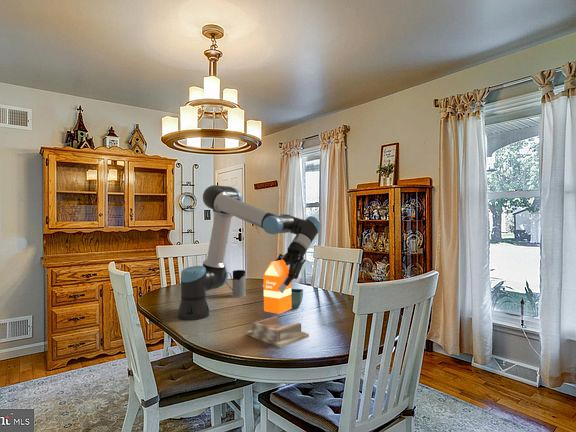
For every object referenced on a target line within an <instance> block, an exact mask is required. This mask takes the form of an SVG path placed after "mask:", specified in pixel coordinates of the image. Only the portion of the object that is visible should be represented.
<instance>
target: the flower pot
mask: <svg viewBox="0 0 576 432" xmlns="http://www.w3.org/2000/svg"><path fill="white" fill-rule="evenodd" d="M303 296H304V289H300V288H291V309H295V310H296V309H299V308H300V306H301V305H302V301H303Z"/></svg>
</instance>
